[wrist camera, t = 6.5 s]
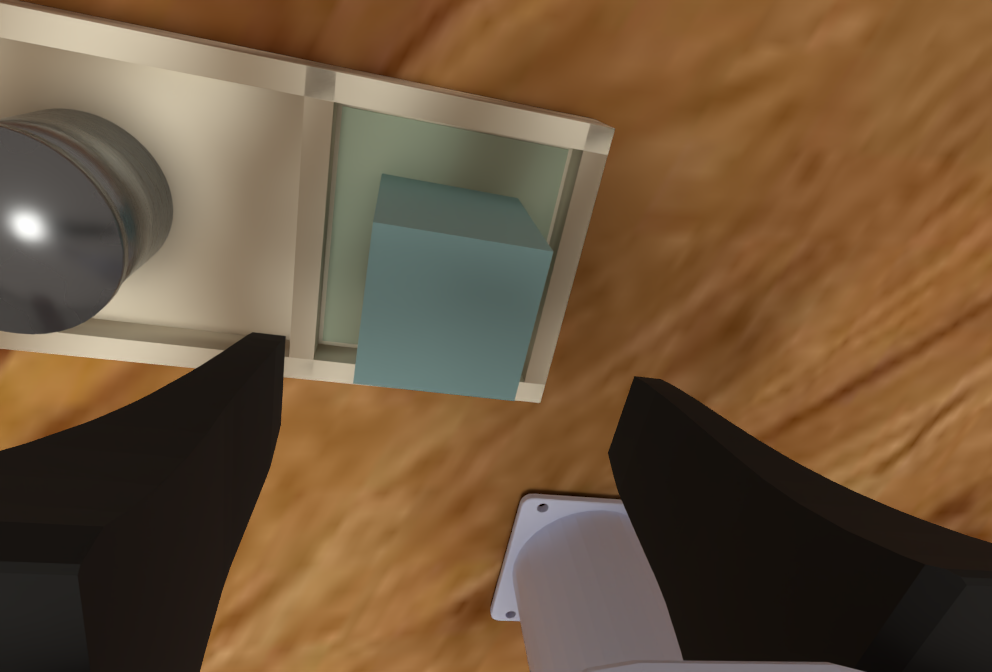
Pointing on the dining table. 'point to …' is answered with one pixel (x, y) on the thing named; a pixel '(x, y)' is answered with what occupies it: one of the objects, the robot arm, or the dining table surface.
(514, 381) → the teal block
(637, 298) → the dining table surface
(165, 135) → the birch organizer
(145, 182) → the grey tin
